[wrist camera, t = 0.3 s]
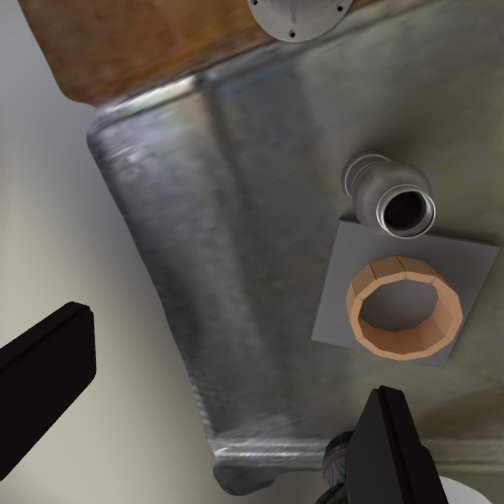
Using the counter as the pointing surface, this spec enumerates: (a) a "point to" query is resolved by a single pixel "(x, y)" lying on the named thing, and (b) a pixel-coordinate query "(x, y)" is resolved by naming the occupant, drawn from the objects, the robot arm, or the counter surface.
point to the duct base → (400, 292)
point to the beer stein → (336, 471)
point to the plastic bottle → (389, 195)
